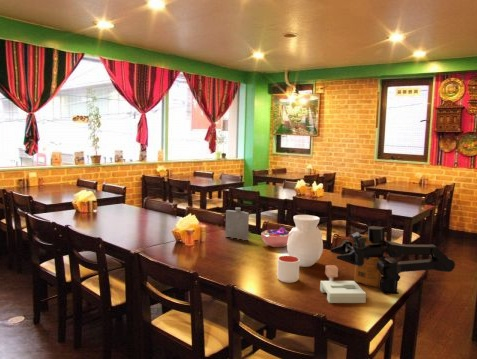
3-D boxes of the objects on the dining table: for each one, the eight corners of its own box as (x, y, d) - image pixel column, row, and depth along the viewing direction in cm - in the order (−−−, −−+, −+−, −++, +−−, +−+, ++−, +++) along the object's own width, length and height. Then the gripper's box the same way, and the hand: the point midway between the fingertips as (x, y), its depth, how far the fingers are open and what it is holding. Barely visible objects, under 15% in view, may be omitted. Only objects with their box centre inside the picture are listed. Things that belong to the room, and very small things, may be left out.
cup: (296, 276, 194) (297, 255, 193) (300, 283, 184) (301, 262, 183) (275, 275, 193) (276, 255, 192) (278, 283, 184) (279, 262, 182)
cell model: (255, 244, 248) (256, 226, 247) (283, 241, 256) (284, 223, 255) (269, 251, 233) (269, 232, 231) (298, 248, 241) (299, 229, 240)
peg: (334, 284, 184) (335, 265, 183) (337, 288, 180) (338, 268, 179) (324, 284, 184) (325, 265, 183) (327, 288, 180) (328, 268, 179)
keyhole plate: (353, 289, 179) (354, 280, 178) (365, 302, 165) (366, 293, 164) (320, 289, 178) (320, 280, 177) (329, 302, 164) (329, 293, 163)
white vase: (321, 271, 201) (324, 222, 199) (284, 267, 205) (286, 219, 202) (321, 260, 220) (324, 214, 217) (287, 257, 223) (289, 212, 220)
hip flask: (224, 237, 261) (225, 206, 259) (227, 236, 265) (228, 205, 263) (246, 241, 254) (247, 209, 252) (249, 239, 258) (250, 208, 255)
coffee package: (358, 276, 196) (361, 231, 193) (384, 282, 189) (387, 236, 186) (350, 281, 188) (353, 235, 185) (377, 288, 181) (381, 240, 178)
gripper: (361, 227, 183) (327, 230, 183) (377, 239, 165) (339, 241, 164) (361, 251, 185) (327, 254, 184) (377, 265, 166) (340, 268, 166)
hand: (333, 253), depth 174 cm, fingers open, 9 cm apart
